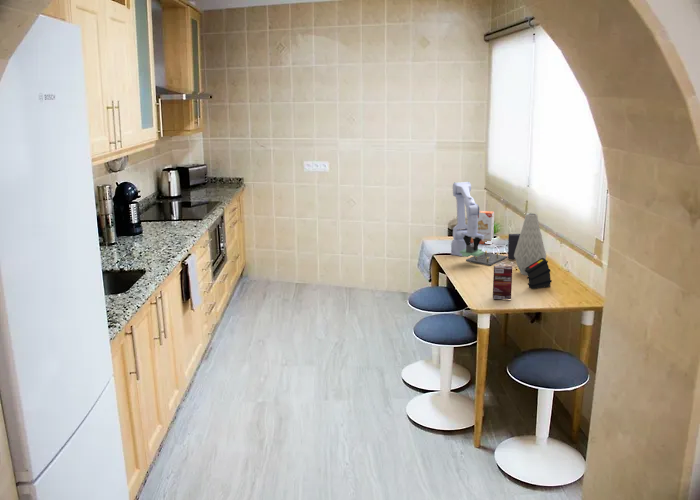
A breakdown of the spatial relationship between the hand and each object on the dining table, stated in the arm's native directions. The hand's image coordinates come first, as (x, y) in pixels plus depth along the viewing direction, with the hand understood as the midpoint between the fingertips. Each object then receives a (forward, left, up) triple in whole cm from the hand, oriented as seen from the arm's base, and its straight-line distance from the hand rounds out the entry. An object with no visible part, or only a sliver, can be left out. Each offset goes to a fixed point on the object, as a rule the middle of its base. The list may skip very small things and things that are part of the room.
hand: (472, 249), depth 351 cm
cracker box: (-21, +45, -9) cm, 50 cm away
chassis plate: (+1, +14, -9) cm, 17 cm away
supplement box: (+41, -40, -9) cm, 58 cm away
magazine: (+47, -15, -9) cm, 51 cm away
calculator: (+15, +25, -9) cm, 31 cm away
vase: (+33, +4, -9) cm, 35 cm away
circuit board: (0, 0, -2) cm, 2 cm away
